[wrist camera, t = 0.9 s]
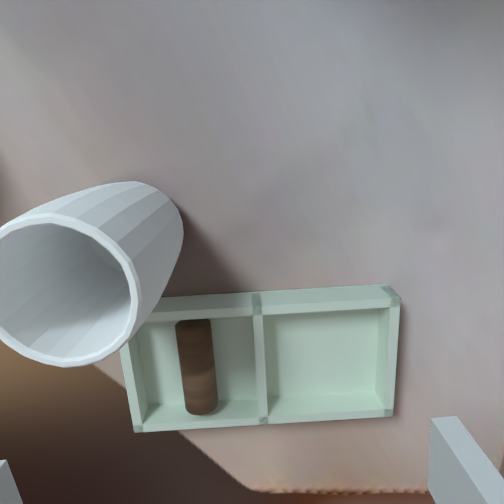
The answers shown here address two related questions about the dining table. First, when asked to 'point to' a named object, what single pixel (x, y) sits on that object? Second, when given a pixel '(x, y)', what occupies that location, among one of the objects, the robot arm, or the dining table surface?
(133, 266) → the cup
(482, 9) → the dining table surface
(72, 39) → the dining table surface
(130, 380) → the caddy
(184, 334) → the dowel
